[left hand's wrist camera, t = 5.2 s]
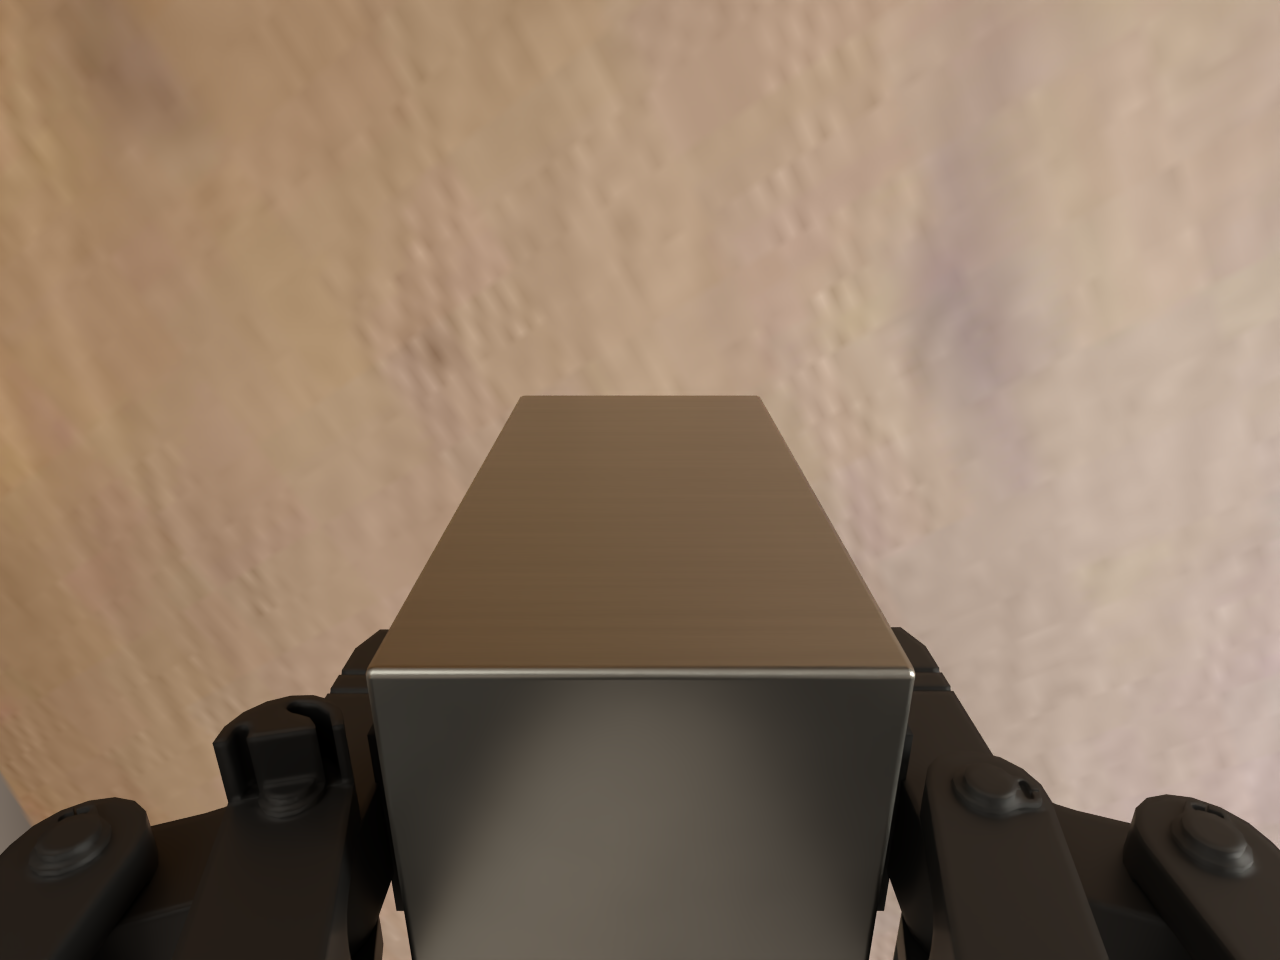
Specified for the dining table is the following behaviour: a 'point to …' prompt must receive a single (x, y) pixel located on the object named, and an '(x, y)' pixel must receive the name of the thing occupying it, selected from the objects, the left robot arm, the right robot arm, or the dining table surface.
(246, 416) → the dining table surface
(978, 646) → the dining table surface
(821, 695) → the bar
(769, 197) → the dining table surface
